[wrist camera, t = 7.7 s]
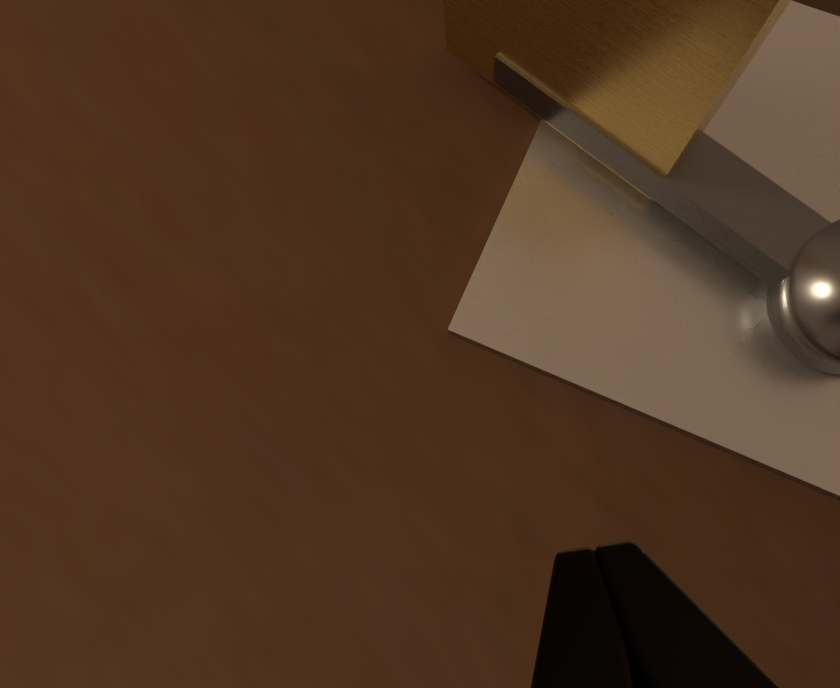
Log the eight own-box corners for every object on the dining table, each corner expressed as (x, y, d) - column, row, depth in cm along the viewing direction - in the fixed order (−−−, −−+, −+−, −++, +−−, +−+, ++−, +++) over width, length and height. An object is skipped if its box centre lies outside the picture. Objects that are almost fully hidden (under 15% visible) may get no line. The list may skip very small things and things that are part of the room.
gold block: (940, 296, 21) (1446, 98, 10) (857, 403, 20) (1288, 318, 10) (502, -14, 24) (530, -432, 13) (421, 76, 23) (378, -277, 12)
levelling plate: (1046, 101, 23) (1129, 46, 20) (902, 526, 21) (971, 534, 18) (617, -44, 25) (636, -113, 22) (448, 333, 23) (444, 312, 20)
